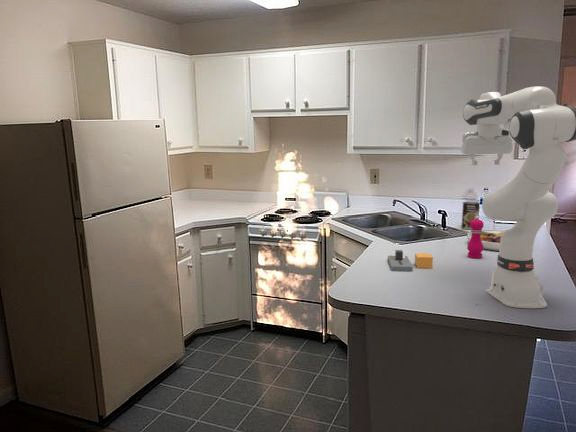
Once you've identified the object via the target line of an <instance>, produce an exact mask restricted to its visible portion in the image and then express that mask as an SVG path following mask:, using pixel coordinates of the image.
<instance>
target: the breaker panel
mask: <svg viewBox="0 0 576 432" xmlns="http://www.w3.org/2000/svg"><path fill="white" fill-rule="evenodd" d="M387 261H388V262H387V263H388V264H389V268H390V270H391V271H392V272H413V270H414V269H413V268H414V266H413V264H412V263H411V261H410V259H409V257H408V255H403V260H399V259H396V258H395V254H390V255H387Z"/></svg>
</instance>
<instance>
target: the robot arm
mask: <svg viewBox="0 0 576 432" xmlns="http://www.w3.org/2000/svg"><path fill="white" fill-rule="evenodd" d="M462 117H463V120H464V121H465V122H466V123H467V124H468V125H469V126H474V125H475V126H476V131H474V132H473V131H471V132H468V131H467V132H466V133H464V134H463V135H462V145H461V153H462V154H463V155H469V158H470V160H471V165H472V166H477V165H478V160H475V158H476V155H497V158H496V160H494V165H496V166H499V165H500V161H501V160H502V158H503V157H504V154H505V155H510V154H511V153H512V152H513V141H514V142H515V143H516V144H517V145H519V147H520V148H521V149H523V150H529V151H528V155H527V157H526V159H525V160H524V162H523V164H522V166H521V168H520V170H519V171H518V173H517V174H516V175H515V177H514V178H513V179H512V180H511V181H510V182H508V183H507V184H505V185H504V186H501V188H499V189H497V190H494V191H491V192H489V193H487V194H486V195H485V196H484V198H483V199H482V203H481V209H482V211H483V214H484V216H486V218H488V219H489V220H495V221H501V222H502V221H503V222H507V221H508V222H509V221H511V222H512V221H514V222H516V223H515V224H514V225H513V226H512V227H511V228H509V229H507V230H504V231H505V232H504V233H503V234H502V236H501V238H500V250H499V251H498V252H499V254H498V255H497V259H496V262H497V263H496V265H497V266H496V267H495V269H494V270H492V274H491V281H490V282H491V283H490V288H487V289H486V291H485V292H486V293H487V294H489V295H490V296H491V297H493V298H494V299H496V300H497V301H499V302H500V303H501V304H503V305H504V306H507V307H510V308H517V309H544V308H547V307H548V303H547V302H546V300H545V298H544V297H543V295H542V293H541V291H543V290H544V283H540V282H539V277H537V275H536V273H535V270H534V269H535V267H534V265H535V264H534V263H535V262H534V258H533V253H534V245H535V240H536V237H537V234H538V232H539V230H540V229H541V228H542V227H543V225H544V224H545V223H546V222H548V221H549V220H550V219H552V218H554V217H555V215H556V214H557V212H558V209H559V201H558V199H557V197H556V195H555V194H554V193H552V192H549V191H550V190H551V188H552V187H553V185H554V184H555V182H556V181H557V179H558V177H559V176H560V174H561V172H562V170H563V168H564V166H565V163H566V159H567V152H566V150H565V148H564V147H563V145H561V144H559V143H563V142H565V143H568V142H573V141H576V107H572V106H571V105H569V104H568V103H564V104H563V105H559V104H557V100H556V95H555V93H554V91H553V90H551V88H549V87H547V86H542V85H541V86H538V85H537V86H530V87H525V88H523V89H522V88H521V89H520V90H516V91H514V92H511V93H508V94H505V95H502V94H501V92H498V91H487V92H483V93H481V95H480V96H479V99H470V100H469V101H468V102H467V103H466V104H465V105H464V107H463V110H462ZM508 122H509V128H508V129H509V130H508V129H506V128H503V127H500V125H503V124H507V123H508Z"/></svg>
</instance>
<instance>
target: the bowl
mask: <svg viewBox="0 0 576 432" xmlns="http://www.w3.org/2000/svg"><path fill="white" fill-rule="evenodd" d="M505 231H506V230H496V229H495V230H494V229H482V233H481V241H482V244H483V250H487V251H496V252H499V250H500V238H501V236H502V234H503V233H504V232H505ZM471 237H472V232H471V231H470V232H468V233H467V240H468V243H469V242H470V240H471Z"/></svg>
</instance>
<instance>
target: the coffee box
mask: <svg viewBox="0 0 576 432" xmlns="http://www.w3.org/2000/svg"><path fill="white" fill-rule="evenodd" d="M461 212H462V214H461V226H460V227H461V230H462V229H467V231H471V229H472V228H471V227H470V222H471V221H472V220H474V219H475V217H476V216H479V215H480V202H476V201H475V202H471V201H470V202H468V201H466V202H464V201H463V202H462V211H461ZM479 217H480V216H479Z"/></svg>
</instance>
